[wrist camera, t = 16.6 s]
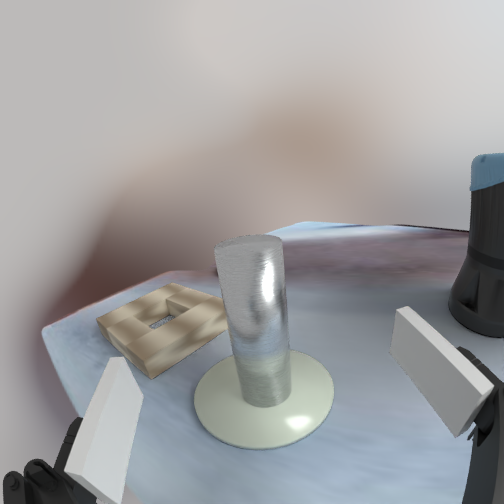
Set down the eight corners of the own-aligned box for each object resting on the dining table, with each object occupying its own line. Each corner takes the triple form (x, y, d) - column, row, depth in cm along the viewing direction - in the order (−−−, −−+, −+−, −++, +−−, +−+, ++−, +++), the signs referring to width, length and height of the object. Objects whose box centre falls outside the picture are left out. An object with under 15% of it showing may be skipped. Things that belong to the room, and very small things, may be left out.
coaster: (253, 340, 35) (252, 335, 34) (354, 373, 26) (355, 368, 26) (169, 404, 25) (167, 399, 24) (281, 475, 16) (280, 471, 16)
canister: (261, 367, 28) (244, 232, 24) (301, 382, 25) (294, 237, 21) (231, 394, 25) (200, 250, 20) (272, 415, 22) (252, 259, 17)
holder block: (175, 296, 50) (171, 282, 49) (239, 320, 40) (236, 302, 39) (102, 334, 38) (95, 318, 38) (151, 379, 28) (143, 360, 28)
